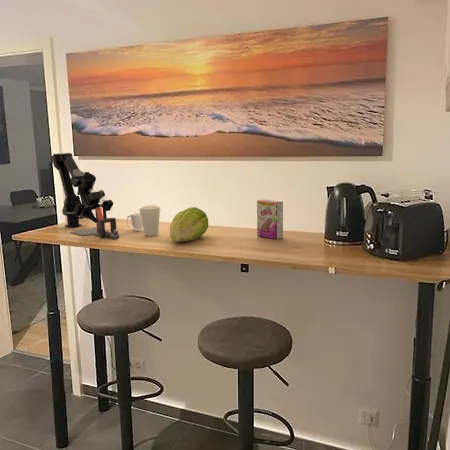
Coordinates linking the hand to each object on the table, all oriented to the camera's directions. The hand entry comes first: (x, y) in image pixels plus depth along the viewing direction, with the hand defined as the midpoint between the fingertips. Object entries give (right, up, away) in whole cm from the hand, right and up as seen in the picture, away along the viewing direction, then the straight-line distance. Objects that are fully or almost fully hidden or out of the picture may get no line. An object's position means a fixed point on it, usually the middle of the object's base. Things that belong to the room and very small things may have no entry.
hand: (101, 221), depth 226 cm
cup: (+14, -4, +11) cm, 19 cm away
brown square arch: (+4, -7, -2) cm, 8 cm away
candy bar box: (+78, -7, -11) cm, 79 cm away
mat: (-8, -5, +9) cm, 13 cm away
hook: (+3, -7, -2) cm, 8 cm away
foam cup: (+23, -6, +1) cm, 24 cm away
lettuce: (+41, -9, -12) cm, 44 cm away
